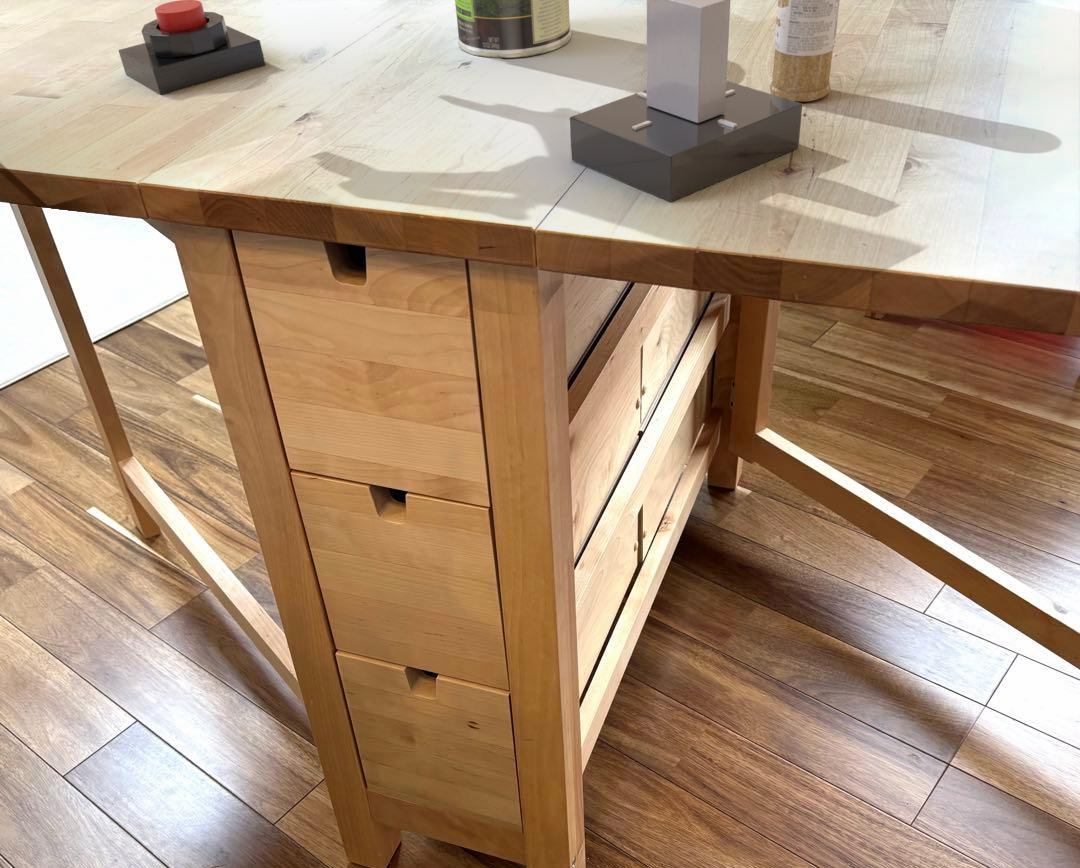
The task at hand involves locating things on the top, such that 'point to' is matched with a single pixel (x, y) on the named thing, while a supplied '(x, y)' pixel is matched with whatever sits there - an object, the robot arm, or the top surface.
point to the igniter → (190, 55)
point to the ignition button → (180, 15)
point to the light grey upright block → (687, 57)
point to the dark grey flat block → (684, 141)
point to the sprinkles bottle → (804, 48)
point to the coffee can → (512, 27)
